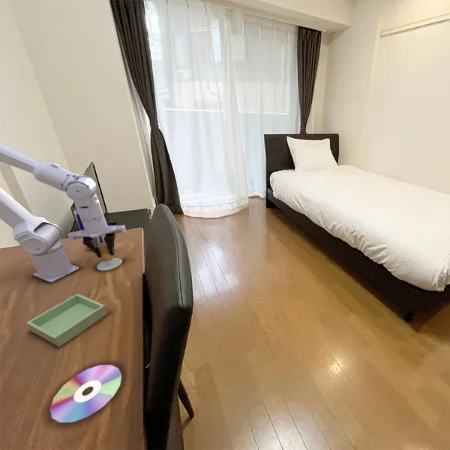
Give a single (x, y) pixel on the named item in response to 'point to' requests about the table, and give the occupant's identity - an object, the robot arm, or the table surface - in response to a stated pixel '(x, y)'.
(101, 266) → the coaster
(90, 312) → the tray
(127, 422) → the table surface
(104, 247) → the brown cylinder
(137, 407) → the table surface
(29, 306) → the table surface
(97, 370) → the cd
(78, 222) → the beverage can
